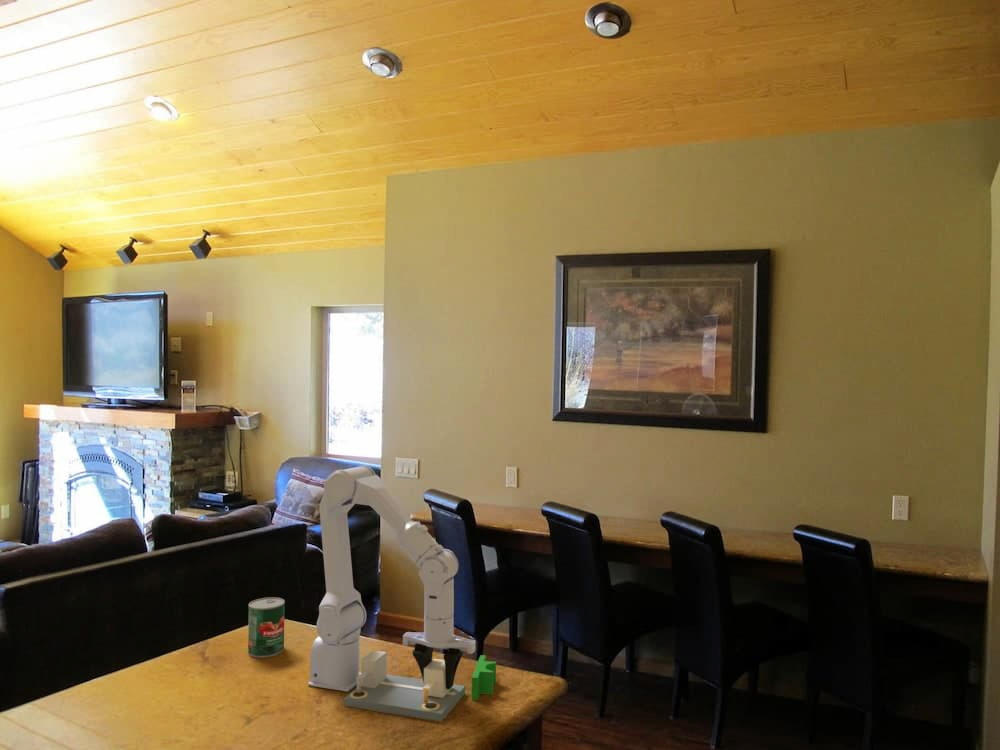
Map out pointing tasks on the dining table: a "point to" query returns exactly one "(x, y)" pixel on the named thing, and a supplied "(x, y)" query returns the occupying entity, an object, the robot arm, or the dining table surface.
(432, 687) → the block
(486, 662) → the pipe clamp
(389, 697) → the plate
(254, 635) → the canned tomato
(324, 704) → the dining table surface
